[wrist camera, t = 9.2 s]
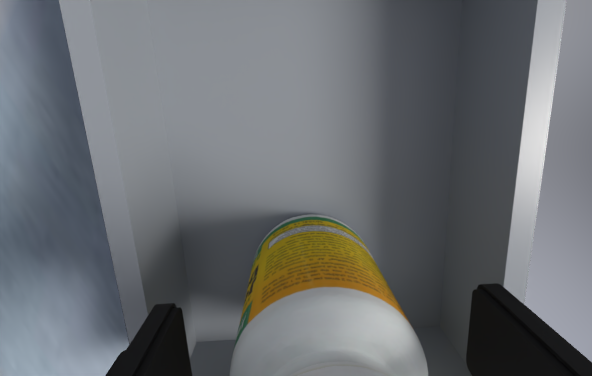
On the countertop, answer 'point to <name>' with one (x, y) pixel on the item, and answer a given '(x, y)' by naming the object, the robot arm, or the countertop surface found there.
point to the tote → (316, 147)
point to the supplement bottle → (321, 308)
